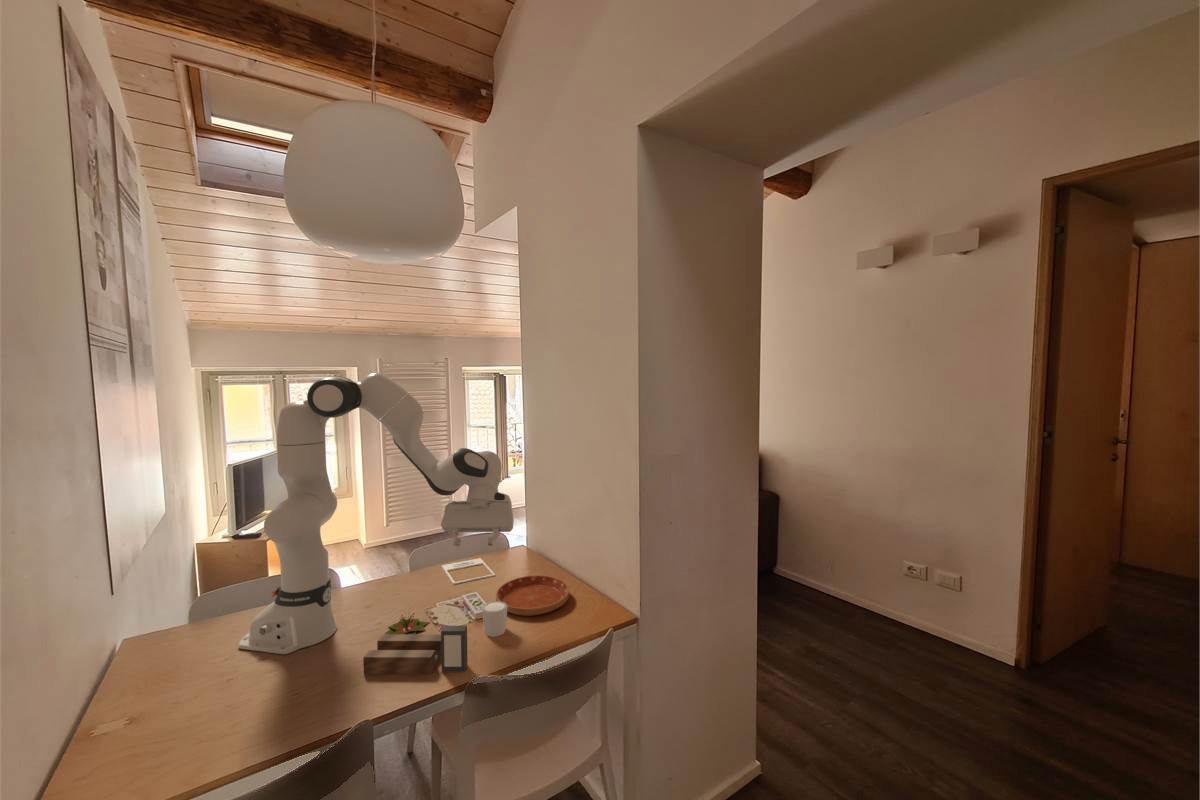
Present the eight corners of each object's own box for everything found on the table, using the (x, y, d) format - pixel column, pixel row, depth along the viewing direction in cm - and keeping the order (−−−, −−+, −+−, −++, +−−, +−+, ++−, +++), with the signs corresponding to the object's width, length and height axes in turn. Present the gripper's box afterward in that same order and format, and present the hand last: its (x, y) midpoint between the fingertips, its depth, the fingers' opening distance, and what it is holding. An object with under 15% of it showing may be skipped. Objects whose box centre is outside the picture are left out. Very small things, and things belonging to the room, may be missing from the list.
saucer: (544, 627, 134) (544, 614, 134) (480, 609, 144) (480, 598, 143) (581, 594, 154) (581, 582, 154) (523, 581, 164) (523, 570, 164)
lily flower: (400, 618, 139) (399, 602, 139) (437, 622, 137) (437, 606, 137) (373, 640, 127) (373, 623, 127) (414, 644, 125) (413, 627, 125)
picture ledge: (363, 673, 112) (363, 657, 112) (382, 649, 122) (382, 634, 122) (431, 673, 112) (430, 657, 112) (444, 649, 122) (444, 634, 122)
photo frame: (480, 557, 183) (495, 574, 168) (480, 560, 183) (495, 577, 168) (441, 564, 176) (453, 582, 160) (441, 567, 176) (453, 585, 160)
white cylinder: (501, 639, 127) (501, 613, 127) (477, 636, 128) (477, 611, 128) (511, 626, 134) (511, 602, 133) (488, 623, 135) (488, 599, 135)
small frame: (441, 672, 113) (440, 631, 112) (445, 665, 115) (444, 625, 115) (464, 672, 113) (463, 631, 112) (467, 665, 115) (467, 625, 115)
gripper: (444, 495, 138) (433, 540, 128) (514, 495, 138) (508, 539, 129) (449, 506, 142) (439, 550, 133) (516, 506, 143) (511, 549, 133)
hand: (473, 545), depth 131 cm, fingers open, 8 cm apart
